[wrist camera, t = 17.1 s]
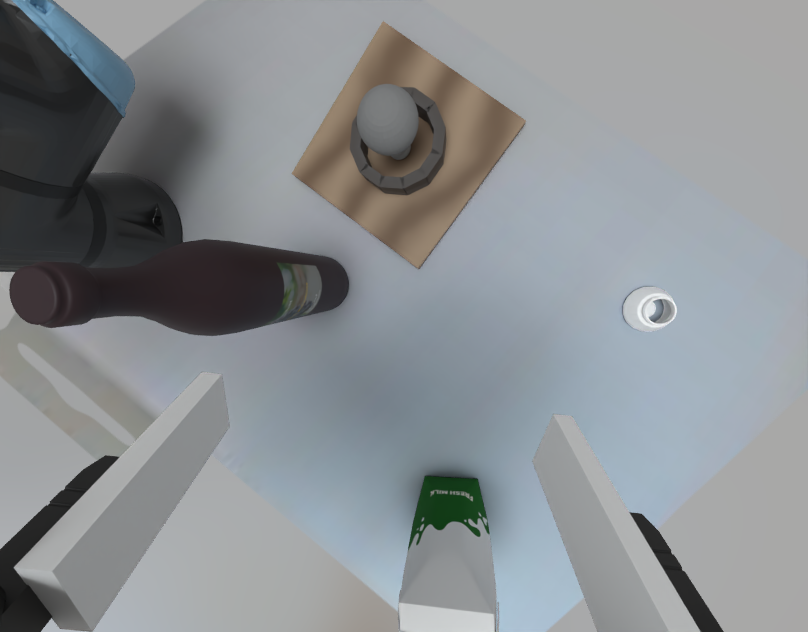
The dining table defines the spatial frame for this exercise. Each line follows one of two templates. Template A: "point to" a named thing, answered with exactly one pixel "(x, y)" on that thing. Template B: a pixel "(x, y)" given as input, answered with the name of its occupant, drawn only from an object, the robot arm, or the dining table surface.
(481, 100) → the lamp holder
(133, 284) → the wine bottle
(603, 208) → the dining table surface
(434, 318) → the dining table surface
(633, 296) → the lidless jar
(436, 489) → the milk carton
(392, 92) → the light bulb
